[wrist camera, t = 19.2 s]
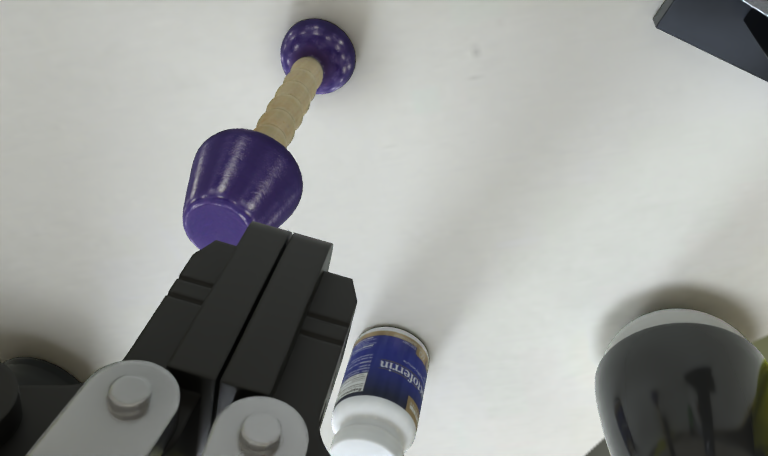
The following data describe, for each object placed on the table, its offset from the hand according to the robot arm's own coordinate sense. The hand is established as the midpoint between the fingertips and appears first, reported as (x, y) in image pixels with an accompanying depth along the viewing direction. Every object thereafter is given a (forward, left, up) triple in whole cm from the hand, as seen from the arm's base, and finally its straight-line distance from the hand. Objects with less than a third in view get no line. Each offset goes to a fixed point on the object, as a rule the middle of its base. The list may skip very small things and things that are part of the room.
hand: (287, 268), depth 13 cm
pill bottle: (+18, -24, -27) cm, 41 cm away
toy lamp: (0, -10, -27) cm, 29 cm away
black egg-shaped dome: (+29, -8, -27) cm, 41 cm away
